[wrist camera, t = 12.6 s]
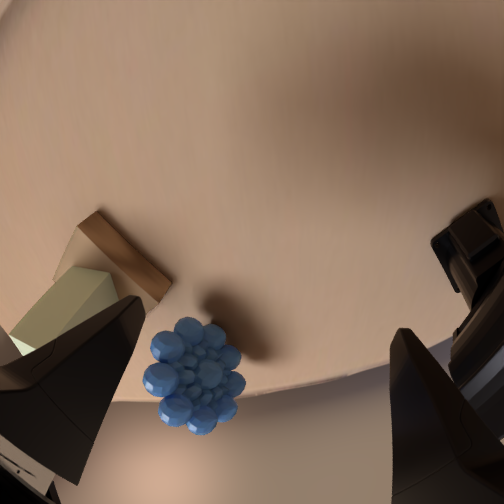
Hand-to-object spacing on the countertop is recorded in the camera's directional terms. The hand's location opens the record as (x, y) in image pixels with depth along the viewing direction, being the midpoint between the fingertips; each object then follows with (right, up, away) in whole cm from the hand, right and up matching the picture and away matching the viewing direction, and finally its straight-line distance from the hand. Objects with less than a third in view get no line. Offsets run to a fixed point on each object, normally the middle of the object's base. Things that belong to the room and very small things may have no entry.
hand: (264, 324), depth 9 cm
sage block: (-15, -1, +16) cm, 23 cm away
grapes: (-5, -6, +21) cm, 22 cm away
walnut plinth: (-15, 0, +19) cm, 24 cm away
